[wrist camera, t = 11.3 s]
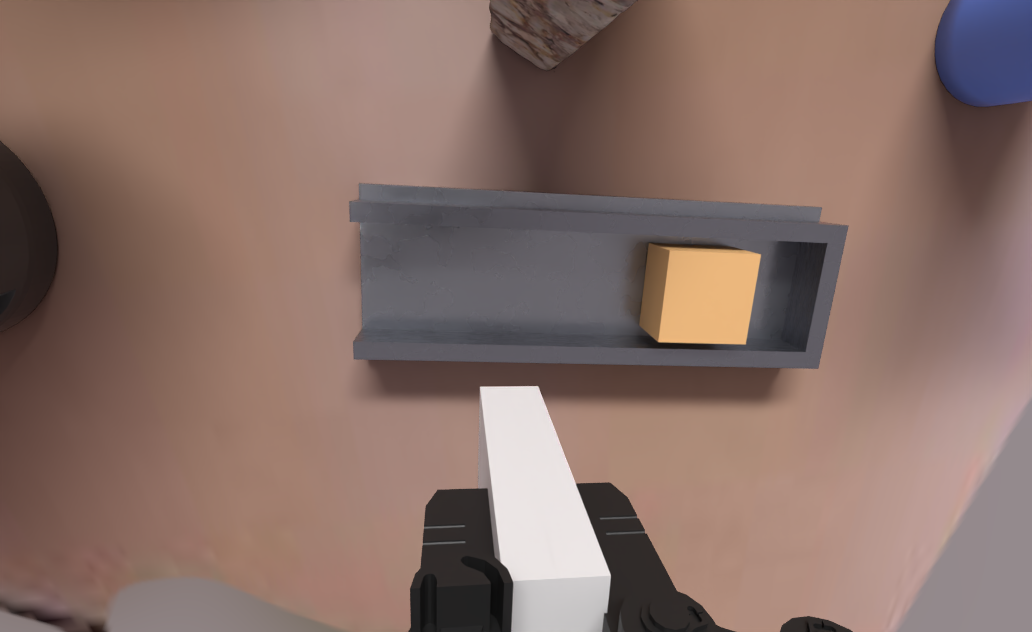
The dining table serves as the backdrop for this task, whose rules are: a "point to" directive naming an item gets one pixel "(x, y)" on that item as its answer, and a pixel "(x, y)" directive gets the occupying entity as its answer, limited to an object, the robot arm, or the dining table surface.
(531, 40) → the stone block
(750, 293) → the block
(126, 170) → the dining table surface
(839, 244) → the chute
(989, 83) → the water bottle
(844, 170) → the dining table surface
